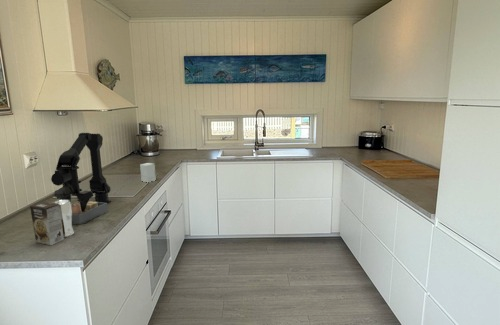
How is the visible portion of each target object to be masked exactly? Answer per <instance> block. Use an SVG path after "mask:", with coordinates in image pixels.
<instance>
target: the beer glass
mask: <svg viewBox="0 0 500 325" xmlns="http://www.w3.org/2000/svg"><path fill="white" fill-rule="evenodd" d="M52 203H57V204H59V207H60V214H61V222H62V229H63V237H64V238H67V237H71V236H72V235H74V234H75V231H74V228H73V224H72V206H71V205H72V202H70V200H60V199H58V200H56V201H53V202H52Z"/></svg>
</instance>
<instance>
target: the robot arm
mask: <svg viewBox="0 0 500 325" xmlns="http://www.w3.org/2000/svg"><path fill="white" fill-rule="evenodd" d="M103 137H104V136H103V135H101V134H100V133H90V132H81V133H78V136H77V137H76V139H75V141H74V142H73V144H72V145H71V146H70V148H69V149H67V150H65V151H64V152H62V153H61V154H60V155H59V158H58V160H57V164H56V167H55V170H54V173H53V174H52V175H51V179H50V181H51V183H52V184H53V185H55V186H62V187H60V188H59V189H57V190H54V192H53V194H54V197H55V198H56V199H57V200H70V202H71V199H72V196H74V197H76V200H77V202H78V203H80V206H81V210H82V212H84V211H85V208H86V205H87V203H88V201H90V199H92V198H93V197H94V200H95V201H94V202H103V203H107V204H108V203H111V199H109V193H110V192H111V186H110V185H109V184H108V183H107V179H106V177H105V176H104V175H103V168H102V159H101V158H102V157H101V148H102V146H103ZM85 147H86V148H88V150H89V154H90V156H89V157H90V163H91V171H92V172H91V174H92V177H91V179H89V181H88V182H89V189H90V190H83V189H82V188H80V184H81V183H82V181H81V180H79V175H78V169H80V166H78V164H79V162H80V160H81V158H80V155H81V153H82V151H83V150H84V149H85ZM71 203H72V202H71Z"/></svg>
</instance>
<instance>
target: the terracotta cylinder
mask: <svg viewBox="0 0 500 325" xmlns="http://www.w3.org/2000/svg"><path fill="white" fill-rule="evenodd" d="M71 206H72V213H75V214H81V213H82V211H81V206H80V204H79V203H73V204H72V203H71Z"/></svg>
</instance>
